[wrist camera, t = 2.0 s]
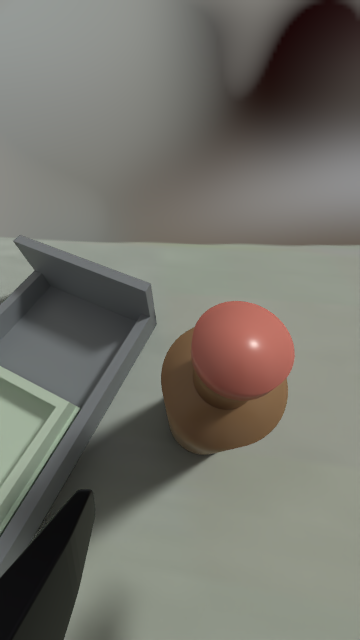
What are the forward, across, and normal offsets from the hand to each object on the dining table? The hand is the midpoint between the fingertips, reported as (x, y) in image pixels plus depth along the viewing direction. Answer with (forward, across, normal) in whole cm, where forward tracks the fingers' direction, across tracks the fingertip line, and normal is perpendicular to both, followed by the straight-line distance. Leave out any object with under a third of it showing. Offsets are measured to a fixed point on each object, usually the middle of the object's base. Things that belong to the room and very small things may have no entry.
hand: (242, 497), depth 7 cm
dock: (+12, +13, +3) cm, 18 cm away
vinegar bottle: (+10, 0, +5) cm, 12 cm away
